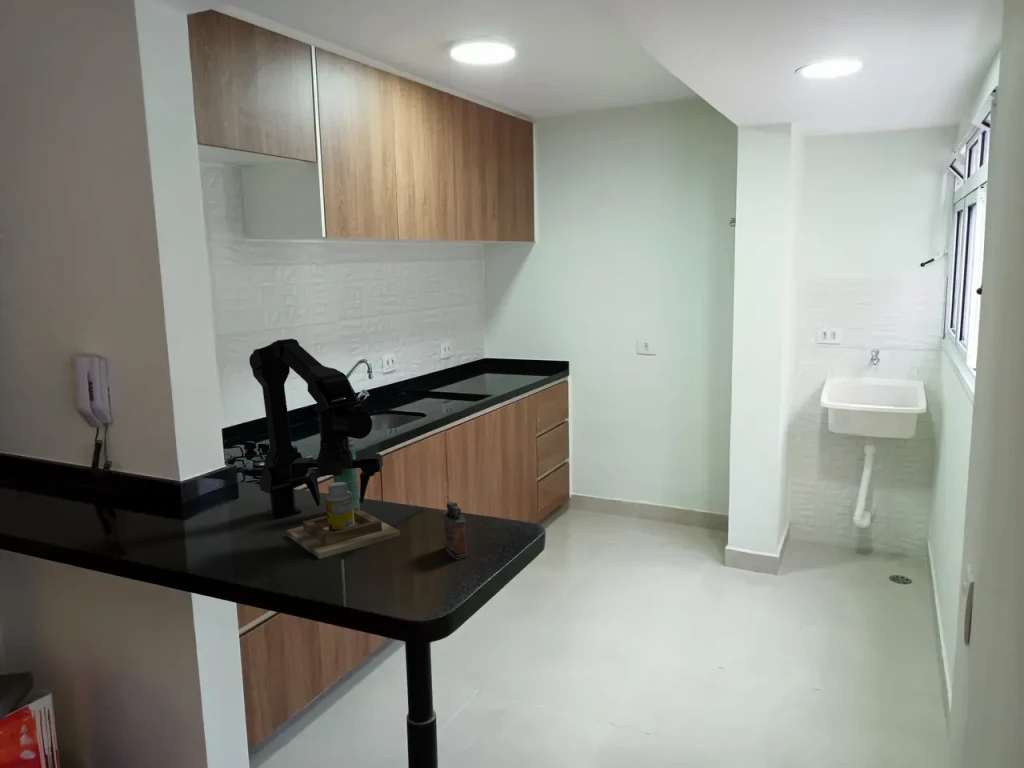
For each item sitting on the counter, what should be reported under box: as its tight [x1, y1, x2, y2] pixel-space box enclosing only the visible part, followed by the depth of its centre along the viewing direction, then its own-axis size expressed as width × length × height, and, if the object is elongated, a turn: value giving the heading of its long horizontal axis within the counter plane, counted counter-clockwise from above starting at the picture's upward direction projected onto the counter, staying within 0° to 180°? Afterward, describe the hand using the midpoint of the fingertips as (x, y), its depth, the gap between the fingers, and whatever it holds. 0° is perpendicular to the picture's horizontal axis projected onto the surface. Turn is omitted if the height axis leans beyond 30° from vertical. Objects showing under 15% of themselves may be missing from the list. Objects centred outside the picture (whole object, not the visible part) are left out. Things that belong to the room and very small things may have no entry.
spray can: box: [332, 437, 361, 511], centre depth 176 cm, size 6×6×20 cm
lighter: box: [442, 501, 468, 558], centre depth 148 cm, size 8×3×10 cm, turn 23°
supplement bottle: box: [325, 482, 355, 532], centre depth 160 cm, size 6×6×10 cm
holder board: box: [286, 509, 401, 560], centre depth 160 cm, size 18×18×3 cm
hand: (340, 504), depth 160 cm, fingers open, 9 cm apart
